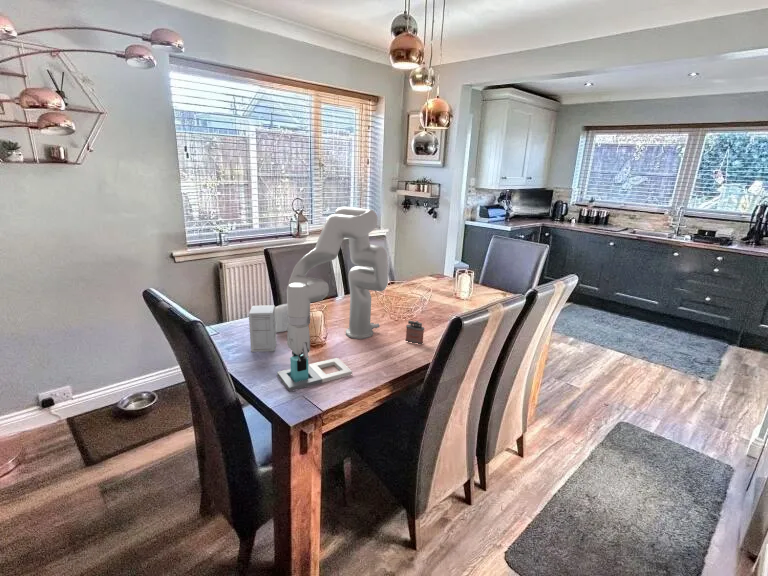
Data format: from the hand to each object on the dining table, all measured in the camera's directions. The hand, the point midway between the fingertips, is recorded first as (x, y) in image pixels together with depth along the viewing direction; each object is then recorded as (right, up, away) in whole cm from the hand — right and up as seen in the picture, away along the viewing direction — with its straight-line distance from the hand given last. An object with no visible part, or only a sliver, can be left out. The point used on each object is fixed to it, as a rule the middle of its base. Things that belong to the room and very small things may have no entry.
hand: (299, 367), depth 139 cm
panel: (+5, -4, +5) cm, 8 cm away
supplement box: (-20, +3, +24) cm, 32 cm away
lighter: (+43, +4, +36) cm, 57 cm away
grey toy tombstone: (-15, +8, +42) cm, 46 cm away
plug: (0, -4, +1) cm, 4 cm away
